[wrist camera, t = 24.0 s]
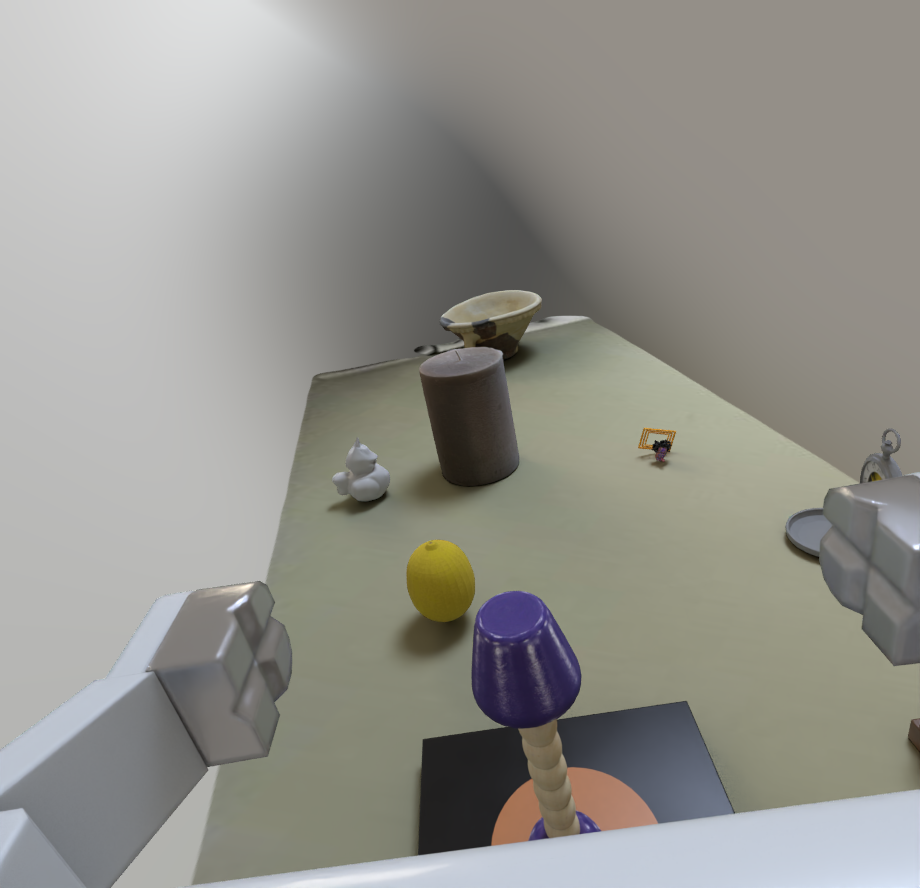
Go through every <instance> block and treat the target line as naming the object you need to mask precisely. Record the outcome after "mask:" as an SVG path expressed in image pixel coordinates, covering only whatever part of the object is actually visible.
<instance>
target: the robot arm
mask: <svg viewBox="0 0 920 888" xmlns="http://www.w3.org/2000/svg"><path fill="white" fill-rule="evenodd" d="M823 516H824V517H825V518H826V519H827V520H828V521H829V522H830V523H831V524H832V527H831V528H830V529H829V530H828V532H827V533H826V534H825V535H824V536H823V538H822V539H821V540H820V552H819V561H820V565H821V569H822V573H823V577H824V580H825V582H826V584H827V585H828V587H829V589H830V591H831V593H832V594H833V595H834V596H835V598H836V599H837V600H838V601H839V603H840V604H841V605H842V606H844V607H846V608H849V609H851V610H853V611H855V612H857V613H860V614H862V615H863V622H862V630H863V631H864V632H865V633H866V634H867V635H868V637H869V638H870V639H871V640H872V641H873V642H874V644H875V645H876V646H877V647H878V648H879V649H880V650H881V652H882V653H883V654H884V655H885V656H886V657H887V659H888V660H889V661H890V662H891V663H892V664H893V666H898V665H907V664H915V663H920V472H917V473H912V474H907V475H904V476H901V477H895V478H890V479H884V480H878V481H872V482H867V483H861V484H855V485H849V486H844V487H838V488H832V489H829V491H828V493H827V495H826V497H825V499H824V506H823ZM274 604H275V601H274V599H273V597H272V595H271V592H270V590H269V588H268V586H267V585H266V584H264V583H262V582H261V581H256V582H249V583H242V584H235V585H228V586H220V587H213V588H206V589H199V590H196V591H186V592H180V593H174V594H168V595H164V596H162V597H160V598H158V599H156V600H155V602H154V603H153V605H152V606H151V608H150V610H149V611H148V613H147V614H146V616H145V617H144V619H143V620H142V622H141V623H140V625H139V627H138V628H137V630H136V631H135V633H134V635H133V636H132V638H131V639H130V641H129V642H128V644H127V645H126V647H125V648H124V650H123V652H122V653H121V655H120V656H119V658H118V659H117V661H116V662H115V664H114V666H113V667H112V669H111V670H110V672H109V673H108V675H107V677H106V678H105V679H100V680H95V681H93V682H91V683H90V684H89V685H87V686H86V687H85V688H83V689H82V690H81V691H79V692H78V693H77V694H75V695H74V696H72V697H71V698H70V699H68V700H67V701H66V702H64V703H63V704H62V705H60V706H59V707H58V708H56V709H55V710H53V711H52V712H51V713H50V714H48V715H47V716H45V717H44V718H43V719H41V720H40V721H39V722H37V723H36V724H34V725H33V726H32V727H30V728H29V729H28V730H26V731H25V732H24V733H22V734H21V735H20V736H18V737H17V738H15V739H14V740H13V741H11V742H10V743H9V744H7V745H6V746H5V747H3V748H2V749H1V750H0V888H111V887H112V885H113V884H114V883H115V882H116V881H117V879H118V878H119V877H120V876H121V875H122V873H123V872H124V871H125V870H126V869H127V867H128V866H129V865H130V863H132V861H133V860H134V859H135V858H136V857H137V855H138V854H139V853H140V852H141V851H142V849H143V848H144V847H145V846H146V845H147V843H148V842H149V841H150V840H151V839H152V837H153V836H154V835H155V834H156V833H157V831H158V830H159V829H160V828H161V827H162V825H163V824H164V823H165V822H166V821H167V819H168V818H169V817H170V816H171V814H172V813H173V812H174V811H175V810H176V809H177V807H178V806H179V805H180V804H181V802H182V801H183V800H184V799H185V798H186V796H187V795H188V794H189V793H190V792H191V790H192V789H193V788H194V787H195V786H196V784H197V783H198V782H199V781H200V780H201V778H202V777H203V776H204V775H205V773H206V772H207V771H208V768H207V767H210V766H216V765H222V764H227V763H233V762H239V761H245V760H250V759H256V758H262V757H268V754H269V750H270V747H271V744H272V740H273V737H274V733H275V730H276V727H277V723H278V720H279V717H280V714H279V712H278V710H277V707H276V705H275V703H274V702H275V701H276V700H277V699H278V698H279V697H280V696H281V695H282V694H283V693H284V692H285V691H286V690H287V689H288V685H289V681H290V677H291V674H292V649H291V644H290V639H289V636H288V633H287V631H286V628H285V626H284V625H283V624H282V623H280V622H279V621H277V620H276V619H274V618H273V617H271V616H270V615H271V612H272V609H273V606H274ZM177 888H920V789H918V790H910V791H903V792H895V793H887V794H880V795H872V796H865V797H857V798H850V799H842V800H834V801H827V802H819V803H812V804H804V805H797V806H789V807H782V808H774V809H766V810H759V811H751V812H744V813H736V814H729V815H721V816H714V817H706V818H699V819H691V820H684V821H676V822H668V823H661V824H653V825H646V826H638V827H631V828H623V829H616V830H608V831H601V832H593V833H585V834H578V835H570V836H563V837H555V838H548V839H540V840H533V841H525V842H518V843H510V844H503V845H495V846H487V847H480V848H472V849H465V850H457V851H449V852H442V853H434V854H427V855H419V856H411V857H404V858H396V859H389V860H381V861H373V862H366V863H358V864H351V865H343V866H335V867H328V868H320V869H313V870H305V871H297V872H290V873H282V874H275V875H267V876H259V877H252V878H244V879H237V880H229V881H222V882H214V883H207V884H199V885H192V886H185V887H177Z"/></svg>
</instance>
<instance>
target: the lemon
mask: <svg viewBox="0 0 920 888" xmlns="http://www.w3.org/2000/svg"><path fill="white" fill-rule="evenodd" d="M407 588H408V592H409V595H410V598H411V600H412V602H413V604H414V606H415V607H416V609H417V610H418V611H419V612H420V613H421V614H422V615H423V616H425V617H426V618H428V619H430V620H433V621H437V622H448V621H452V620H455V619H457V618H459V617H460V616H462V615H463V614H464V613H465V612H466V611H467V609H468V608H469V607H470V605H471V603H472V600H473V598H474V594H475V578H474V573H473V570H472V567H471V565H470V563H469V560H468V558H467V557H466V555H465V554H464V552H463V551H462V550H461V549H460V548H459V547H458V546H457V545H455V544H453V543H451V542H449V541H445V540H431V541H428V542H426V543H424V544H422V545H420V546H419V547H418V548H417V549H416V550H415V551H414V553H413V554H412V555H411V557H410V559H409V562H408V565H407Z"/></svg>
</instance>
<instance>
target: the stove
mask: <svg viewBox="0 0 920 888" xmlns="http://www.w3.org/2000/svg"><path fill="white" fill-rule="evenodd" d="M557 732H558V734H559V736H560V739H561V743H562V754H563V756H564V758H565V761H566V765H567V776H568V778H569V780H570V783H571V788H572V793H571V795H572V797H573V799H574V802H575V806H576V811H579V812H582V813H584V814H585V815H587V816H588V817H589V818H591V819H592V820H593V821H594V822H595V823H596V824H597V826H598V827H599V828H600V830H601V831H608V830H616V829H623V828H631V827H638V826H646V825H653V824H661V823H668V822H676V821H684V820H691V819H699V818H706V817H714V816H721V815H729V814H735V812H734V810H733V808H732V805H731V803H730V801H729V798H728V796H727V794H726V791H725V789H724V787H723V785H722V782H721V780H720V778H719V775H718V773H717V771H716V768H715V766H714V764H713V761H712V759H711V757H710V754H709V752H708V750H707V747H706V745H705V743H704V740H703V738H702V736H701V733H700V731H699V729H698V726H697V724H696V722H695V719H694V717H693V715H692V712H691V710H690V708H689V705H688V703H687V701H683V702H676V703H669V704H662V705H655V706H648V707H641V708H635V709H628V710H621V711H614V712H607V713H600V714H593V715H586V716H579V717H572V718H566V719H559V720H557ZM541 817H542V815H541V813H540V809H539V800H538V799H537V797H536V795H535V792H534V788H533V779H532V778H531V776H530V773H529V770H528V759H527V757H526V755H525V753H524V750H523V745H522V736H521V734H520V732H519V730H518V729H515V728H512V727H504V728H497V729H490V730H483V731H476V732H469V733H462V734H455V735H448V736H442V737H435V738H428V739H423V747H422V773H421V798H420V824H419V849H418V856H419V855H427V854H434V853H442V852H449V851H457V850H465V849H472V848H480V847H487V846H495V845H503V844H510V843H518V842H525V841H528V840H529V837H530V834H531V831H532V829H533V827H534V825H535V824H536V823H537V821H538V820H539V819H540V818H541Z"/></svg>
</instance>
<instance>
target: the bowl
mask: <svg viewBox="0 0 920 888" xmlns="http://www.w3.org/2000/svg"><path fill="white" fill-rule="evenodd" d="M541 301H542V299H541V298H540V296H539V295H537V294H535V293H532V292H527V291H520V290H508V291H499V292H492V293H488V294H484V295H480V296H477V297H474V298H471V299H469V300H467V301H465V302H462V303H460V304H458V305H456V306H454V307H453V308H451V309H450V310H448V311H447V312H446V313H445V314H444V315H443V316H442V317H441V318H440V324H441V325H442V326H443V328H444V329H445V330H446V331H452V332H453V333H454V334H455V335H457V336H458V337H459V338H461V339H462V340H463V341H464V346H465V348H472V347H477V348H478V347H487V348H493V349H496V350H500V351H502V353H503V355H502V357H503V360H505V359H507V358H510V357H511V356H513V355H514V354H515V353H516V352H517V351H518V346H517V345H518V343H519V341H520V339H521V337H522V336H523V334H524V332H525V331H526V329H527V327H528V325H529V323H530V321H531V319H532V317H533V315H534V313H536V312H537V311H539V309H540V308H541Z"/></svg>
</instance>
